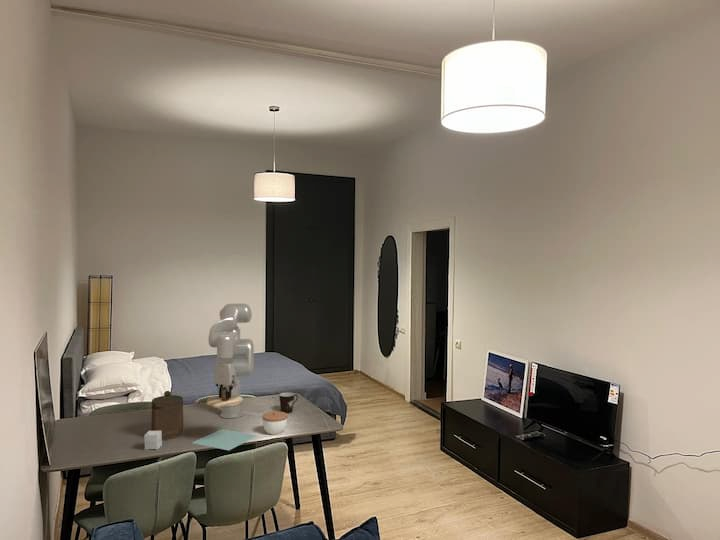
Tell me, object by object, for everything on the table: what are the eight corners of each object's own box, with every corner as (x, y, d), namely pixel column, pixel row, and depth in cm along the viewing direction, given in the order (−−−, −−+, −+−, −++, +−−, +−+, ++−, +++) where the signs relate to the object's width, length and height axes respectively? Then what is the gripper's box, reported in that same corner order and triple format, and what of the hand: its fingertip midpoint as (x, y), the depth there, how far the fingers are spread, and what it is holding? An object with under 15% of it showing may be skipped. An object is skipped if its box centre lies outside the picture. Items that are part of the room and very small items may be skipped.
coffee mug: (281, 414, 299) (281, 397, 299) (277, 410, 307) (277, 393, 307) (301, 412, 303) (301, 395, 303) (297, 408, 311) (297, 391, 311)
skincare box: (162, 445, 250) (161, 430, 250) (157, 450, 244) (157, 434, 244) (149, 445, 250) (148, 430, 250) (144, 450, 244) (144, 434, 244)
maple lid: (199, 404, 254) (199, 389, 254) (222, 395, 270) (222, 381, 269) (228, 409, 247) (228, 394, 247) (250, 400, 263) (250, 385, 262)
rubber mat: (191, 443, 253) (191, 442, 253) (221, 429, 273) (221, 429, 273) (228, 451, 244) (228, 450, 244) (257, 436, 264) (257, 435, 264)
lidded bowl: (282, 438, 261) (282, 415, 261) (258, 436, 264) (258, 414, 264) (290, 429, 274) (290, 408, 273) (267, 428, 276) (267, 406, 276)
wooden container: (172, 428, 275) (172, 386, 274) (189, 434, 266) (189, 390, 265) (145, 435, 264) (145, 391, 263) (161, 442, 254) (161, 397, 254)
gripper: (206, 360, 257) (206, 397, 258) (233, 364, 250) (234, 402, 251) (216, 357, 264) (216, 393, 265) (243, 360, 257) (243, 398, 258)
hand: (225, 397), depth 258 cm, fingers closed on maple lid, 3 cm apart
